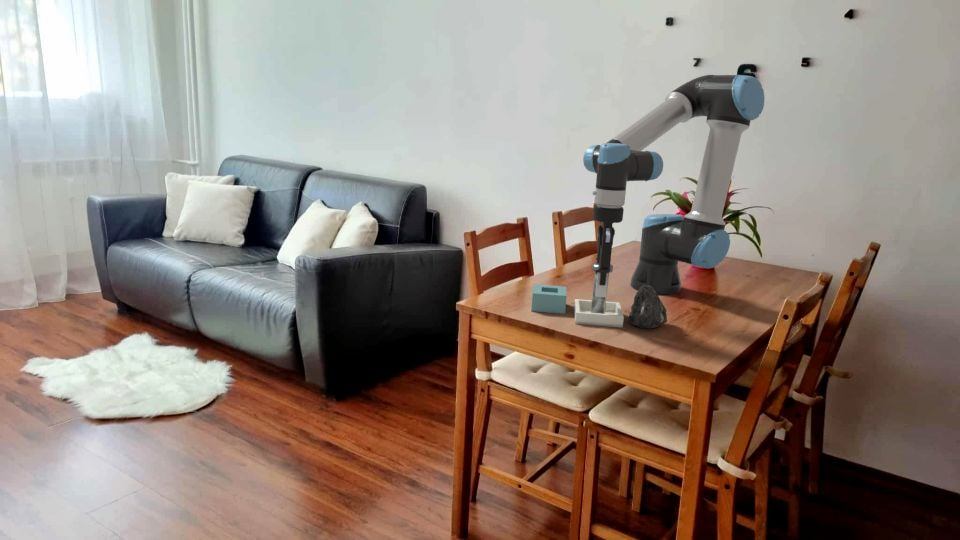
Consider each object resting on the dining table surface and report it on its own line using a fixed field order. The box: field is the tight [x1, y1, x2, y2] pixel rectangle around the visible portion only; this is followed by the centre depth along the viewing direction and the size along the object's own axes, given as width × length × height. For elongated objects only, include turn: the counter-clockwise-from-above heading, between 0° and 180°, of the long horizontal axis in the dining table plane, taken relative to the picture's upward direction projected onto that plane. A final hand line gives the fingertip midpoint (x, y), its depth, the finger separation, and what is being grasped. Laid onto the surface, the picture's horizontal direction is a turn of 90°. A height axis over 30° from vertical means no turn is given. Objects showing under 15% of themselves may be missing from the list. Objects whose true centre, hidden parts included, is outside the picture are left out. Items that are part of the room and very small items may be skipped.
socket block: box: [531, 283, 567, 315], centre depth 185 cm, size 9×9×5 cm
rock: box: [626, 285, 668, 329], centre depth 174 cm, size 12×10×10 cm
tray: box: [573, 298, 624, 328], centre depth 178 cm, size 12×12×3 cm
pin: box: [591, 262, 614, 314], centre depth 176 cm, size 5×5×13 cm
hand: (600, 293), depth 176 cm, fingers closed on pin, 5 cm apart
